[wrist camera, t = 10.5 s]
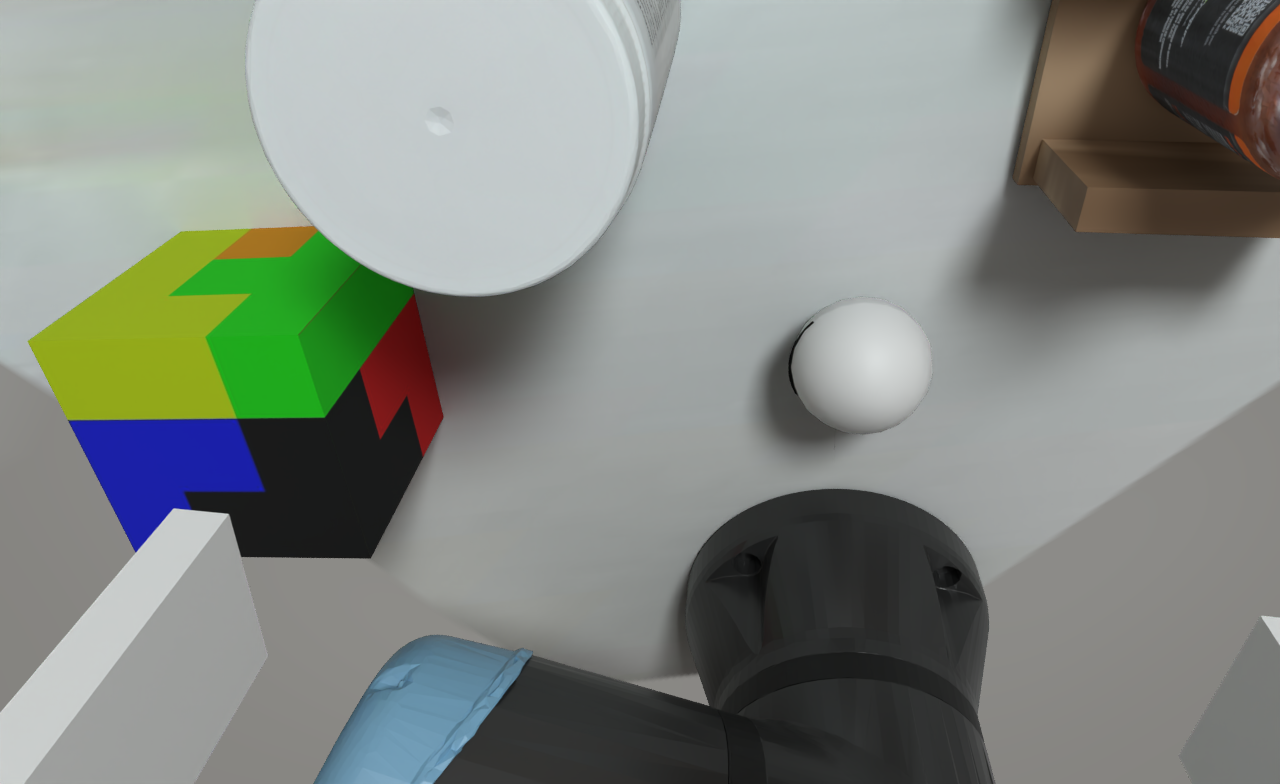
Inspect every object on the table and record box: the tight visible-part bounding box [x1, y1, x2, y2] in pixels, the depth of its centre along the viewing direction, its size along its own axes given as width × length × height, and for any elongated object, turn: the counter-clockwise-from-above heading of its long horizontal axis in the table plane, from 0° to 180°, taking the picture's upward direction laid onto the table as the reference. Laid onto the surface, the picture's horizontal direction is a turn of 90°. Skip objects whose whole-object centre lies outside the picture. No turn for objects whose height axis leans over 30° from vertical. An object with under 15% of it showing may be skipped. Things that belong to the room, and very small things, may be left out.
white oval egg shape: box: [789, 297, 933, 449], centre depth 37 cm, size 8×6×6 cm
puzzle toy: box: [28, 226, 443, 558], centre depth 37 cm, size 10×10×10 cm
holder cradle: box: [1012, 0, 1280, 238], centre depth 28 cm, size 12×11×6 cm
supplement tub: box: [245, 0, 681, 297], centre depth 26 cm, size 10×10×15 cm
